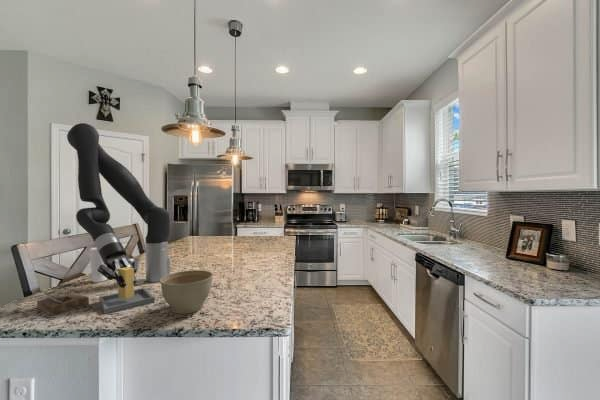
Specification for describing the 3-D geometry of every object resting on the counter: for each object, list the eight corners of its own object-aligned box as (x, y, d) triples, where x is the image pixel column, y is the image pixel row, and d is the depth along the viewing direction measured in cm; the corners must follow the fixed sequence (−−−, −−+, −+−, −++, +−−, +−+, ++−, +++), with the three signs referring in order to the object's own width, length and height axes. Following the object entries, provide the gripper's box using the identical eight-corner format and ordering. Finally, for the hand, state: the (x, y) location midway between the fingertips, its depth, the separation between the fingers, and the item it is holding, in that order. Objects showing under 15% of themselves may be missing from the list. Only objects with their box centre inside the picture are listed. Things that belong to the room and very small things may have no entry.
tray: (144, 292, 109) (144, 287, 109) (154, 302, 98) (154, 297, 98) (99, 301, 99) (99, 296, 99) (104, 314, 88) (104, 308, 88)
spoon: (148, 282, 123) (148, 278, 123) (112, 299, 103) (112, 294, 103) (139, 282, 124) (139, 278, 123) (102, 299, 103) (102, 294, 103)
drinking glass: (99, 283, 121) (98, 249, 121) (86, 282, 122) (85, 249, 122) (112, 279, 127) (111, 246, 127) (100, 278, 129) (99, 246, 129)
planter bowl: (156, 307, 94) (155, 275, 93) (203, 296, 103) (203, 267, 103) (166, 324, 81) (166, 287, 81) (220, 310, 91) (219, 277, 90)
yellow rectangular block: (126, 294, 101) (126, 266, 101) (134, 296, 98) (133, 268, 98) (118, 296, 98) (118, 268, 98) (125, 298, 96) (125, 270, 96)
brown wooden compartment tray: (72, 298, 102) (72, 289, 102) (88, 304, 97) (88, 294, 97) (37, 308, 94) (36, 298, 94) (53, 314, 88) (52, 304, 88)
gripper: (92, 244, 96) (112, 284, 90) (133, 238, 108) (152, 273, 102) (84, 257, 98) (103, 297, 92) (125, 251, 110) (144, 285, 105)
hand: (129, 284), depth 97 cm, fingers closed on yellow rectangular block, 3 cm apart
